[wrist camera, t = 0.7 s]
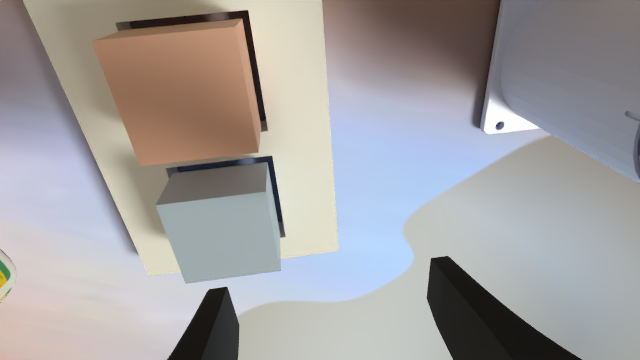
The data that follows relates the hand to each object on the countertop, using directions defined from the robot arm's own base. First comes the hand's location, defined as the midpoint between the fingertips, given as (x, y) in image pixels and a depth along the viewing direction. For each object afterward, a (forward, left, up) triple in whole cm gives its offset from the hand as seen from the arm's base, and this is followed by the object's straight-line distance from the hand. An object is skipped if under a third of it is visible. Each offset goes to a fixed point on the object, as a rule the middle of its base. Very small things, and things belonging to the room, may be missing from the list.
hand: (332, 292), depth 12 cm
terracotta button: (+5, -6, -8) cm, 11 cm away
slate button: (+5, +1, -8) cm, 9 cm away
